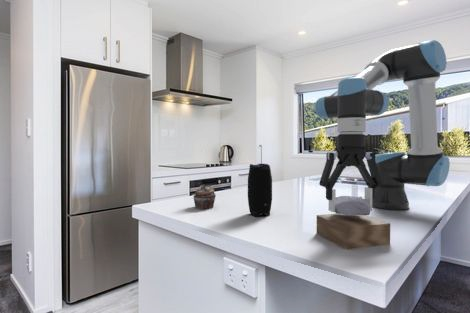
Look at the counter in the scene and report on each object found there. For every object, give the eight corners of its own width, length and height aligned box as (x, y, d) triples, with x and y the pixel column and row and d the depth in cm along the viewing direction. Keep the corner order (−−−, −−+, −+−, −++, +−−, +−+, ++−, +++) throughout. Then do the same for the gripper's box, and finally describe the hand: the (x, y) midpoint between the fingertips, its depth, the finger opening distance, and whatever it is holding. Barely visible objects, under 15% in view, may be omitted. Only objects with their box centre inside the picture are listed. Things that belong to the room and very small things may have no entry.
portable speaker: (273, 217, 108) (273, 164, 107) (248, 217, 108) (248, 165, 107) (270, 211, 117) (270, 163, 116) (247, 211, 117) (247, 163, 116)
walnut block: (355, 230, 92) (355, 211, 92) (390, 245, 79) (390, 223, 79) (316, 234, 89) (316, 215, 88) (346, 250, 75) (346, 227, 75)
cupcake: (196, 204, 131) (196, 182, 131) (217, 205, 130) (217, 183, 129) (190, 209, 122) (190, 186, 121) (213, 210, 120) (212, 186, 120)
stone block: (336, 220, 80) (374, 215, 79) (333, 203, 80) (370, 197, 79) (329, 212, 92) (362, 207, 90) (326, 197, 92) (359, 192, 91)
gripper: (318, 133, 78) (317, 215, 79) (397, 133, 81) (395, 212, 81) (307, 134, 85) (307, 208, 86) (380, 134, 88) (379, 206, 89)
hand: (350, 210), depth 84 cm, fingers closed on stone block, 10 cm apart
